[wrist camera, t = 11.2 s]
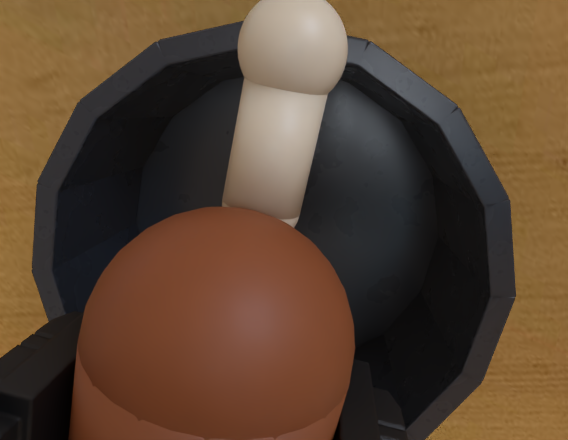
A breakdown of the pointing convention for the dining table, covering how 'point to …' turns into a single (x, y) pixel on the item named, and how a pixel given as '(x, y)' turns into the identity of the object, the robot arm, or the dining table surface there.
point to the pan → (315, 208)
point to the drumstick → (231, 275)
